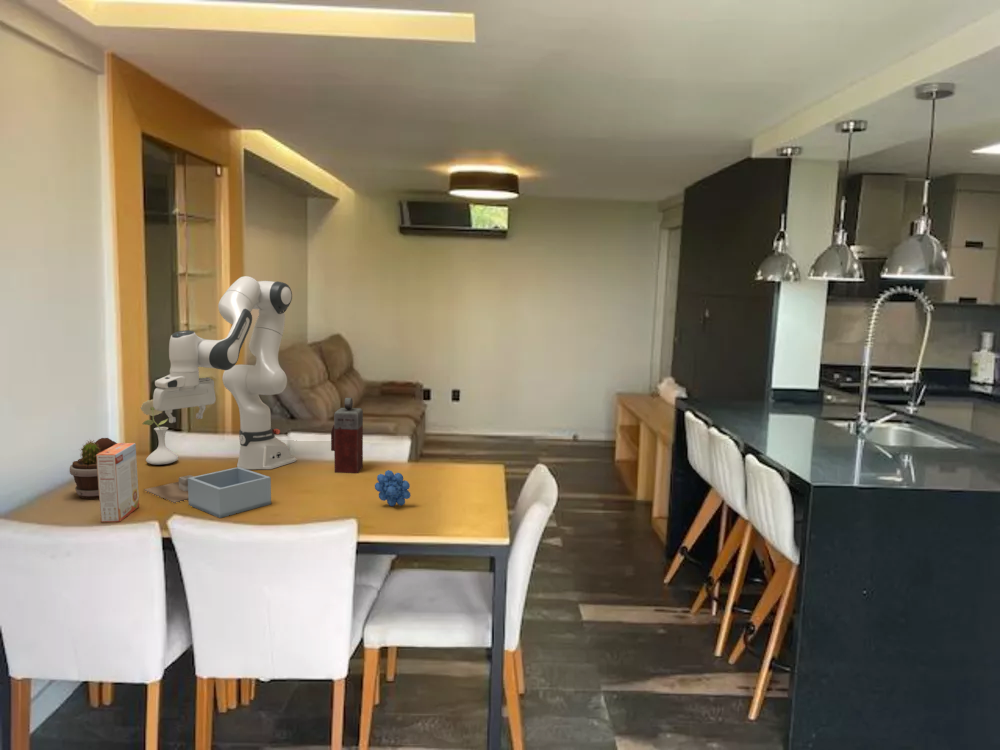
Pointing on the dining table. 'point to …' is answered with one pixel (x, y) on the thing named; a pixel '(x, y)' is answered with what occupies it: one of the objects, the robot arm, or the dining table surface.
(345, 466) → the red grey canister
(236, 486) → the bin
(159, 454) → the flower in vase
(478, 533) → the dining table surface
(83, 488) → the flowerpot
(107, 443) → the ice cream bowl
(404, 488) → the blue knobby flower shape
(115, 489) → the cracker box
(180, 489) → the lid
